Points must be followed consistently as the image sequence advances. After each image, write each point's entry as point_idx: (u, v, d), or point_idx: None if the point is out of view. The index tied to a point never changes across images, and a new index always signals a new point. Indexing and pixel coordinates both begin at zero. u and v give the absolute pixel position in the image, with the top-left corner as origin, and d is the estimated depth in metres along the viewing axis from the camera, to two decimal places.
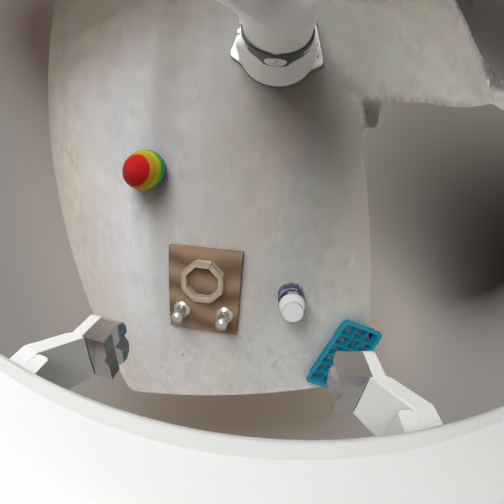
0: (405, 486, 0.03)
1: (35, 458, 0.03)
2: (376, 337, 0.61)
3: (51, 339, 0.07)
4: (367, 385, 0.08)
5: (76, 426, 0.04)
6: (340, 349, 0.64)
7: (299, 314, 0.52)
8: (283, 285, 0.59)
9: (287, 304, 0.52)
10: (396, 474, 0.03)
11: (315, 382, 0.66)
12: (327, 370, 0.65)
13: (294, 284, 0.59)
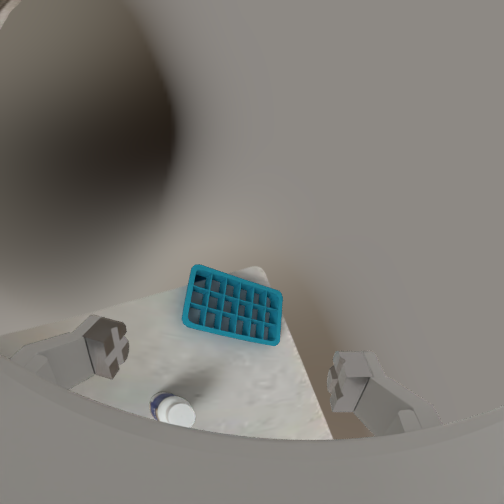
0: (405, 486, 0.03)
1: (35, 458, 0.03)
2: (199, 270, 0.50)
3: (51, 339, 0.07)
4: (367, 385, 0.08)
5: (76, 426, 0.04)
6: (225, 315, 0.51)
7: (180, 408, 0.32)
8: None
9: None
10: (396, 474, 0.03)
11: (278, 331, 0.54)
12: (258, 322, 0.53)
13: (150, 408, 0.36)
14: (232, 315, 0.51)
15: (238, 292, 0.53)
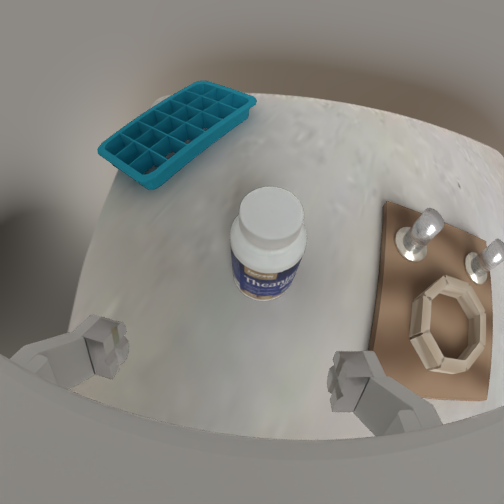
0: (405, 486, 0.03)
1: (35, 458, 0.03)
2: (109, 146, 0.31)
3: (51, 339, 0.07)
4: (367, 385, 0.08)
5: (76, 426, 0.04)
6: (179, 138, 0.33)
7: (252, 204, 0.17)
8: (278, 294, 0.23)
9: (285, 242, 0.17)
10: (396, 474, 0.03)
11: (241, 94, 0.35)
12: (214, 108, 0.34)
13: (250, 292, 0.23)
14: (183, 129, 0.32)
15: (163, 115, 0.33)
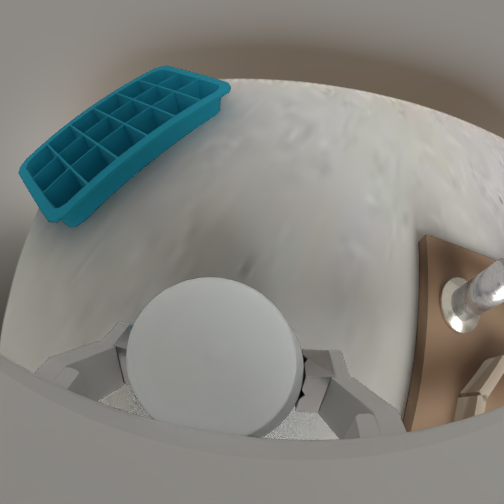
0: (405, 486, 0.03)
1: (35, 458, 0.03)
2: (33, 164, 0.20)
3: (79, 349, 0.07)
4: (329, 385, 0.08)
5: (76, 426, 0.04)
6: (117, 146, 0.21)
7: (157, 338, 0.06)
8: None
9: None
10: (396, 474, 0.03)
11: (210, 80, 0.24)
12: (170, 101, 0.23)
13: None
14: (121, 133, 0.21)
15: (102, 115, 0.22)
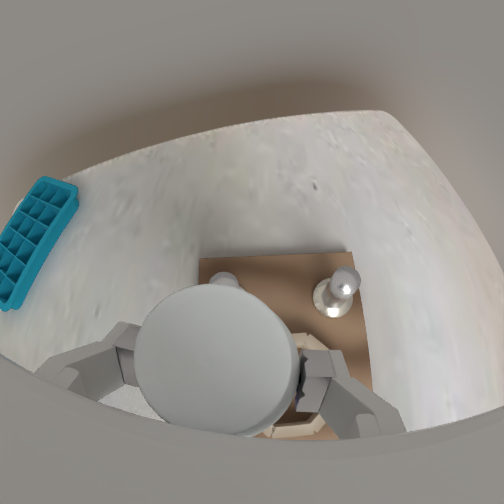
0: (405, 486, 0.03)
1: (35, 458, 0.03)
2: None
3: (79, 349, 0.07)
4: (329, 385, 0.08)
5: (76, 426, 0.04)
6: (26, 252, 0.29)
7: (163, 340, 0.06)
8: None
9: None
10: (396, 474, 0.03)
11: (66, 186, 0.33)
12: (48, 211, 0.32)
13: None
14: (26, 244, 0.29)
15: (14, 231, 0.30)
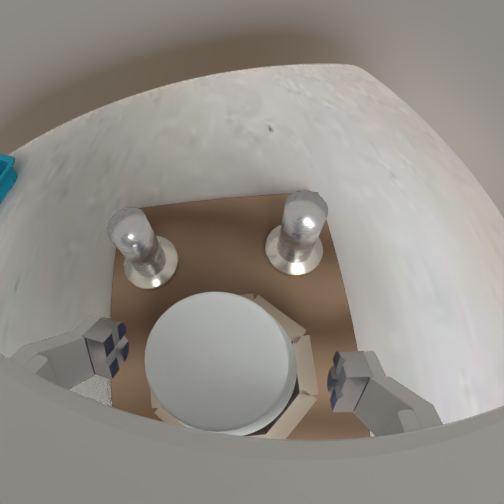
0: (405, 486, 0.03)
1: (35, 458, 0.03)
2: None
3: (51, 339, 0.07)
4: (367, 385, 0.08)
5: (76, 426, 0.04)
6: None
7: (171, 343, 0.07)
8: None
9: None
10: (396, 474, 0.03)
11: (6, 158, 0.23)
12: None
13: None
14: None
15: None
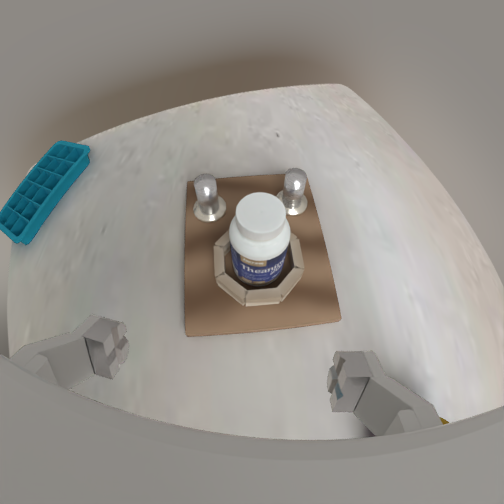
0: (405, 486, 0.03)
1: (35, 458, 0.03)
2: (2, 217, 0.33)
3: (51, 339, 0.07)
4: (367, 385, 0.08)
5: (76, 426, 0.04)
6: (41, 199, 0.36)
7: (245, 206, 0.22)
8: (270, 280, 0.28)
9: (271, 235, 0.22)
10: (396, 474, 0.03)
11: (80, 146, 0.39)
12: (62, 166, 0.38)
13: (246, 278, 0.28)
14: (41, 191, 0.35)
15: (31, 182, 0.36)
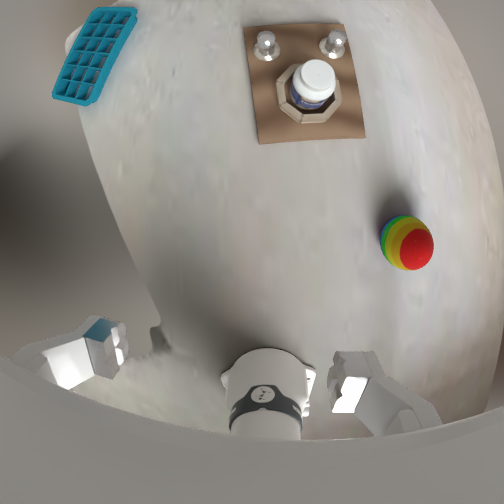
0: (405, 486, 0.03)
1: (35, 458, 0.03)
2: (58, 90, 0.36)
3: (51, 339, 0.07)
4: (367, 385, 0.08)
5: (76, 426, 0.04)
6: (96, 61, 0.35)
7: (307, 69, 0.26)
8: (318, 107, 0.35)
9: (324, 89, 0.27)
10: (396, 474, 0.03)
11: (125, 9, 0.30)
12: (110, 29, 0.32)
13: (302, 106, 0.34)
14: (96, 56, 0.34)
15: (80, 51, 0.33)
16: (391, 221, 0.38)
